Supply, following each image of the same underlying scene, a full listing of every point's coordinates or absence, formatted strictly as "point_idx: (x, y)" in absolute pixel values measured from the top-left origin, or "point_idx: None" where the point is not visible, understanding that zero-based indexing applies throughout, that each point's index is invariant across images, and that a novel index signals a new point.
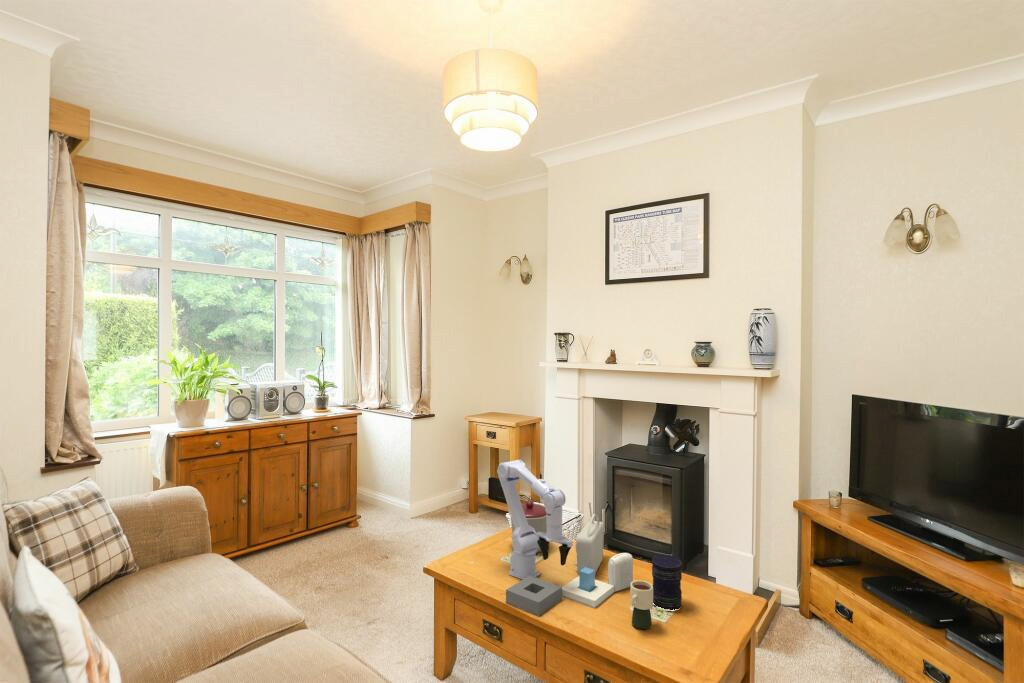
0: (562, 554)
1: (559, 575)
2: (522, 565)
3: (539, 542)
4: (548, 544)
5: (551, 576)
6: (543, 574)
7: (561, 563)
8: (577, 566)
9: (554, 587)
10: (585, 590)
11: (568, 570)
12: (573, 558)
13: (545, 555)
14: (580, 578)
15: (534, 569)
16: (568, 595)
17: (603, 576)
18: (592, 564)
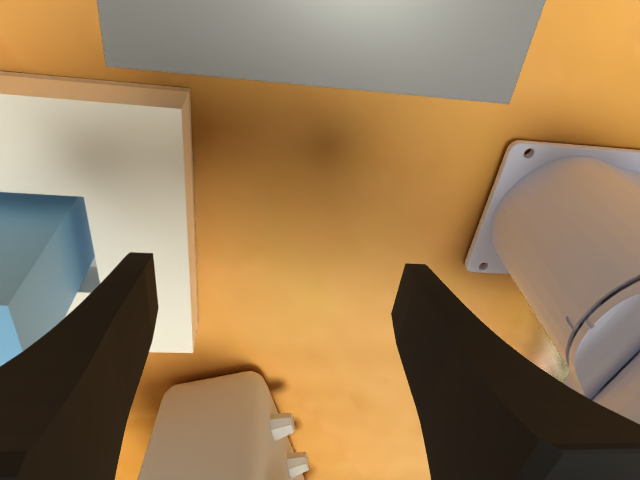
0: (25, 361)
1: (347, 313)
2: (627, 206)
3: (601, 444)
4: (436, 477)
5: (387, 281)
6: (444, 276)
7: (130, 264)
8: (254, 406)
9: (157, 3)
10: (8, 201)
11: (329, 375)
12: (365, 461)
13: (417, 312)
14: (25, 256)
15: (510, 250)
16: (98, 89)
17: (132, 411)
18: (147, 450)
